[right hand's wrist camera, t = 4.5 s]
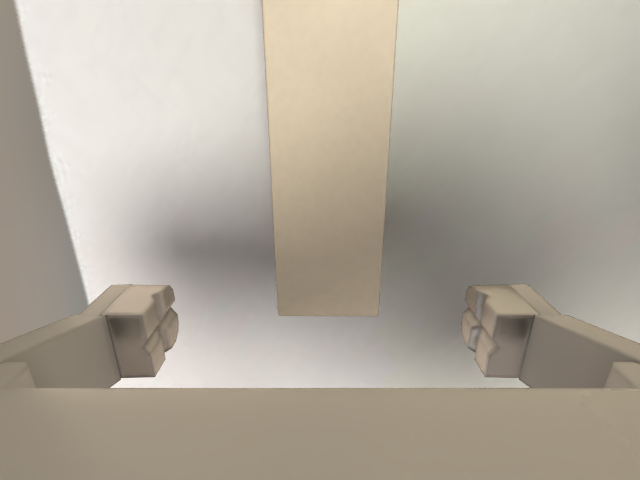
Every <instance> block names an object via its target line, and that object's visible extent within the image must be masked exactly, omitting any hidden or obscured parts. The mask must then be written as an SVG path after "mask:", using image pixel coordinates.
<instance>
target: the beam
mask: <svg viewBox="0 0 640 480" xmlns="http://www.w3.org/2000/svg"><path fill="white" fill-rule="evenodd" d="M398 5H399V0H262V15H263V34H264V53H265V72H266V91H267V111H268V130H269V149H270V168H271V187H272V206H273V225H274V244H275V263H276V282H277V301H278V315H279V316H378V314H379V299H380V283H381V268H382V252H383V237H384V221H385V206H386V190H387V175H388V159H389V144H390V129H391V113H392V98H393V82H394V67H395V51H396V36H397V20H398Z"/></svg>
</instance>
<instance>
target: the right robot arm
mask: <svg viewBox="0 0 640 480" xmlns="http://www.w3.org/2000/svg"><path fill="white" fill-rule="evenodd" d="M174 301H175V298H174V293H173V289H172V288H171V287H170V285H132V284H124V285H111V286H110V287H109V288H108V289H107V290H105V291H104V292H103V293H102V294H101V295H100V296H99V297H98V298H97V299H95V300H94V301H93V302H92V303H91V304H90V305H89V306H88V307H87V308H85V309H84V310H83V311H82V312H81V313H80V314H79V315H72V316H69V317H66V318H64V319H61V320H59V321H56V322H54V323H51V324H49V325H46V326H44V327H41V328H39V329H36V330H34V331H31V332H29V333H26V334H23V335H21V336H19V337H16V338H13V339H11V340H8V341H6V342H3V343H1V344H0V480H640V344H639V343H637V342H634V341H631V340H629V339H626V338H624V337H621V336H619V335H616V334H614V333H611V332H609V331H606V330H604V329H601V328H599V327H596V326H594V325H591V324H589V323H586V322H584V321H581V320H579V319H576V318H574V317H571V316H568V315H561V314H560V313H559V312H558V311H557V310H556V309H555V308H553V307H552V306H551V305H550V304H549V303H548V302H547V301H546V300H545V299H544V298H542V297H541V296H540V295H539V294H538V293H537V292H536V291H535V290H534V289H532V288H531V287H530V286H529V285H525V284H518V285H473V286H469V287H468V290H467V292H466V297H465V301H466V302H467V304H468V305H469V308H468V309H467V310H466V311H465V312H464V313H463V315H462V323H461V327H462V336H463V339H464V342H465V344H466V345H467V347H468V348H469V349H470V350H472V351H474V352H475V361H476V363H477V364H478V366H479V368H480V369H481V371H482V373H483V374H484V376H485V377H503V378H519V380H521V381H522V382H523V383H525V384H526V385H527V386H529V387H530V388H110V387H111V386H113V385H114V384H116V383H117V382H118V381H120V380H121V378H137V377H155V376H156V374H157V373H158V371H159V369H160V368H161V366H162V364H163V363H164V361H165V352H166V351H168V350H170V349H171V348H172V347H173V345H174V344H175V342H176V339H177V335H178V324H179V322H178V315H177V313H176V312H175V311H174V310H173V309H172V308H171V305H172V304H173V302H174Z"/></svg>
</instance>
